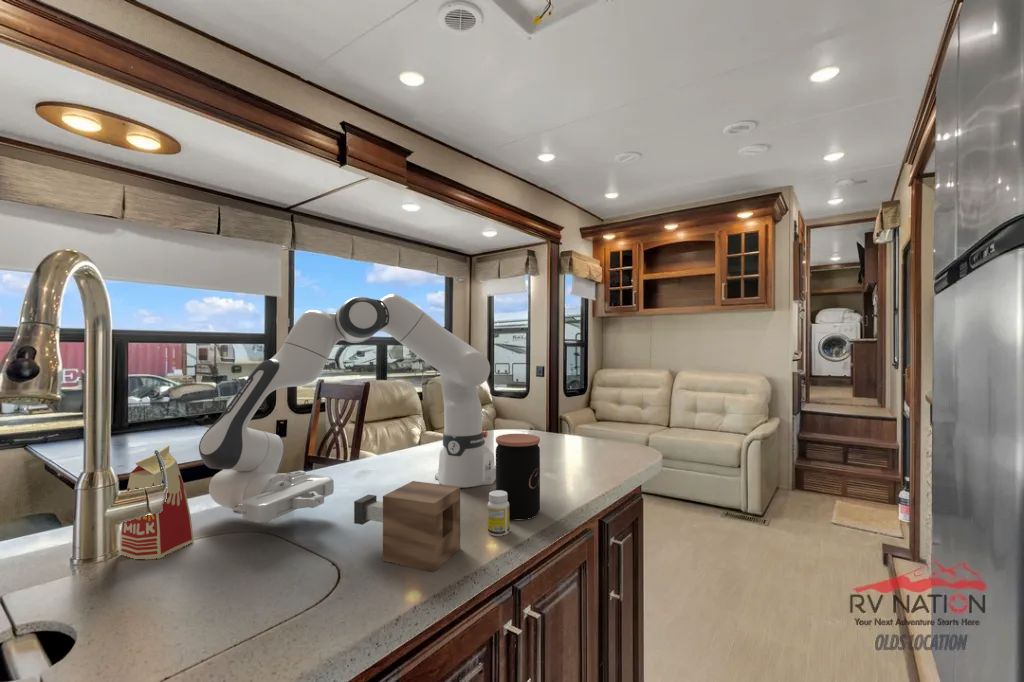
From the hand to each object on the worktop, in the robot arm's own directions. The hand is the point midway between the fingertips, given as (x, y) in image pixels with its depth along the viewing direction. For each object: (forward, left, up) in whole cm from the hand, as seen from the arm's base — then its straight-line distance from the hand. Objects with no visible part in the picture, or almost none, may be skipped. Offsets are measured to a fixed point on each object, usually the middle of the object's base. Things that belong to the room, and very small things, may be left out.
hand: (319, 501), depth 98 cm
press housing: (0, +26, -7) cm, 27 cm away
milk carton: (+17, -25, -7) cm, 31 cm away
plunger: (0, +17, -2) cm, 17 cm away
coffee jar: (-27, +35, -7) cm, 45 cm away
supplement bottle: (-15, +35, -7) cm, 39 cm away
